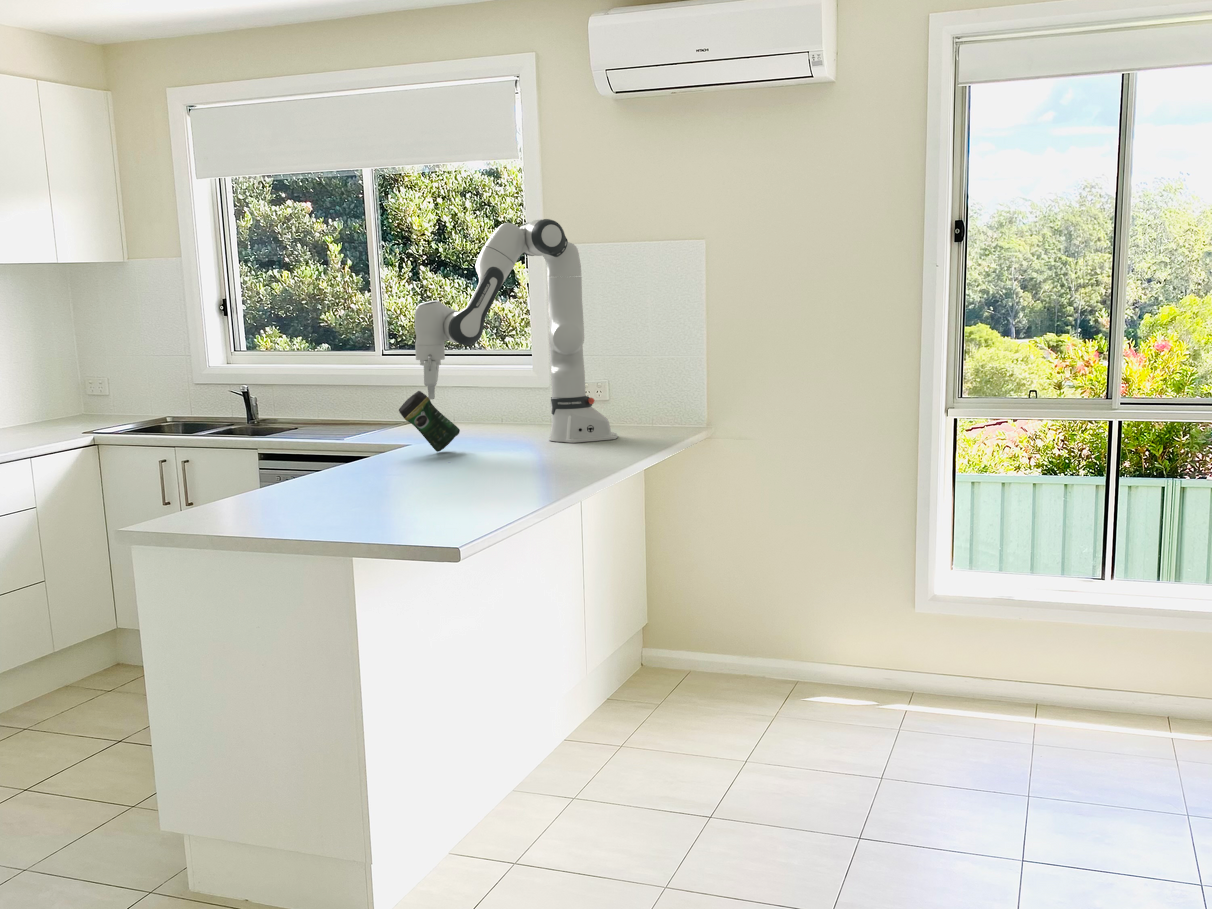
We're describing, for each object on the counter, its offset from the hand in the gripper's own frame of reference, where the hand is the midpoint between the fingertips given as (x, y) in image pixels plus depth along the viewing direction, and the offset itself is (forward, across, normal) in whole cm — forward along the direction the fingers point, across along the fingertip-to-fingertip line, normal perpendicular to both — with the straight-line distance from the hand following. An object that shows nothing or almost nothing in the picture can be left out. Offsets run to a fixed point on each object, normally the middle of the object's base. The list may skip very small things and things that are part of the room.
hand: (431, 399), depth 338 cm
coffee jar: (+14, 0, -5) cm, 15 cm away
